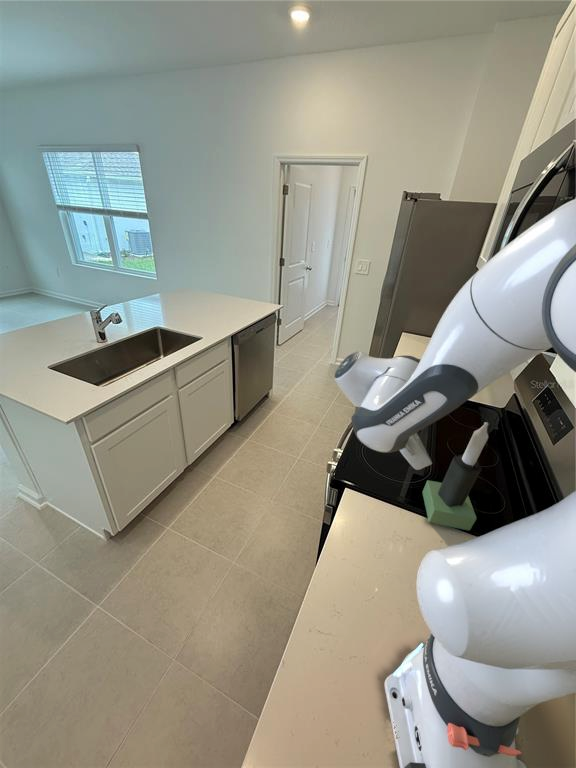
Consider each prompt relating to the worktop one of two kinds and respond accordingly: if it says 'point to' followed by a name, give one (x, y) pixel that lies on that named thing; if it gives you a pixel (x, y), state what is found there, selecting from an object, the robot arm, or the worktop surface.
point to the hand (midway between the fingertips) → (420, 448)
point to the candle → (463, 471)
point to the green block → (447, 509)
